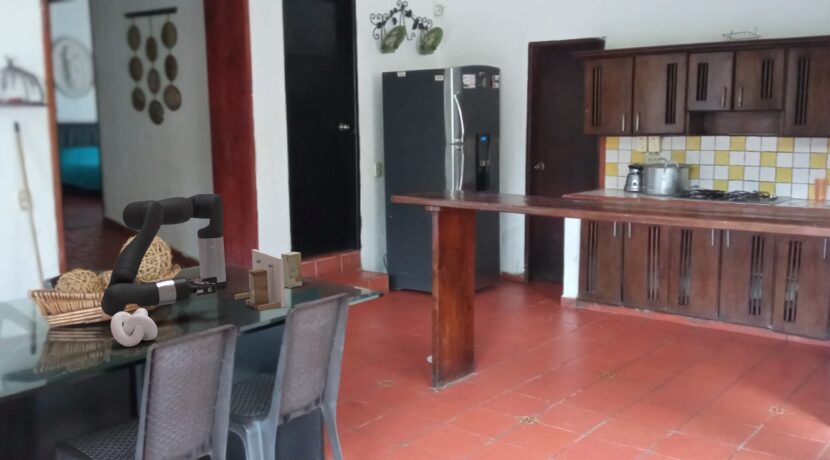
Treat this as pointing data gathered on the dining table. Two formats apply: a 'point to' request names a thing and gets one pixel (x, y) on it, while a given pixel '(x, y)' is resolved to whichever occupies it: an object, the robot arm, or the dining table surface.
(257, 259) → the white upright flat panel
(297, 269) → the skincare box
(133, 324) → the white knot sculpture
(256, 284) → the frame block
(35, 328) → the dining table surface
